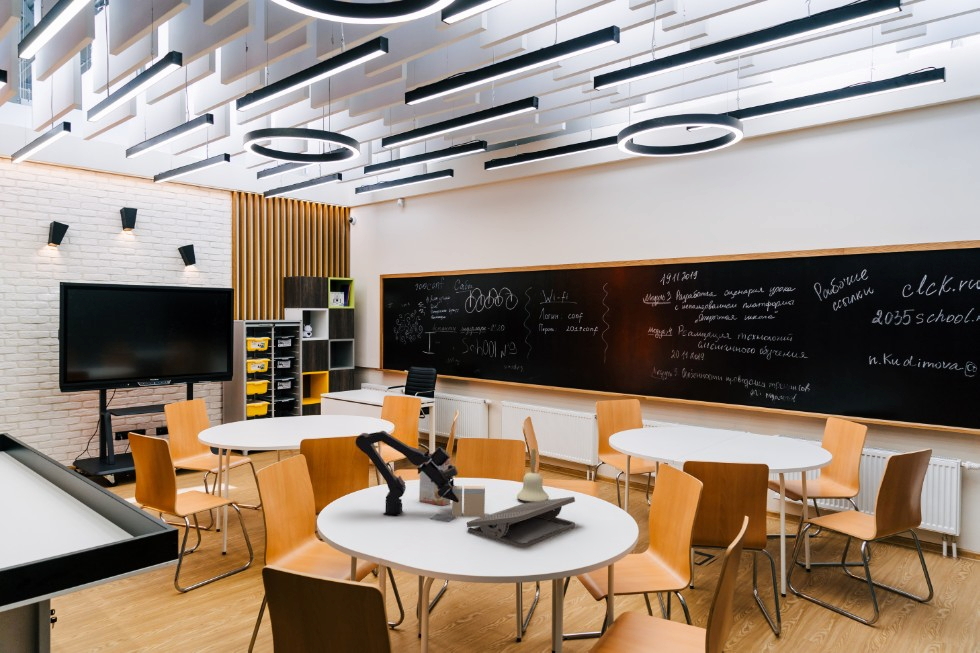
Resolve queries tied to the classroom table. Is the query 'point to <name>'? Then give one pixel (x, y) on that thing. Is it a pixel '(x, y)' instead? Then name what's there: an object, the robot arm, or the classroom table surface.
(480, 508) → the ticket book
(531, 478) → the handbell
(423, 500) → the cracker box
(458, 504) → the stub
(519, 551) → the classroom table surface
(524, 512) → the foot rest
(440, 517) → the mat
